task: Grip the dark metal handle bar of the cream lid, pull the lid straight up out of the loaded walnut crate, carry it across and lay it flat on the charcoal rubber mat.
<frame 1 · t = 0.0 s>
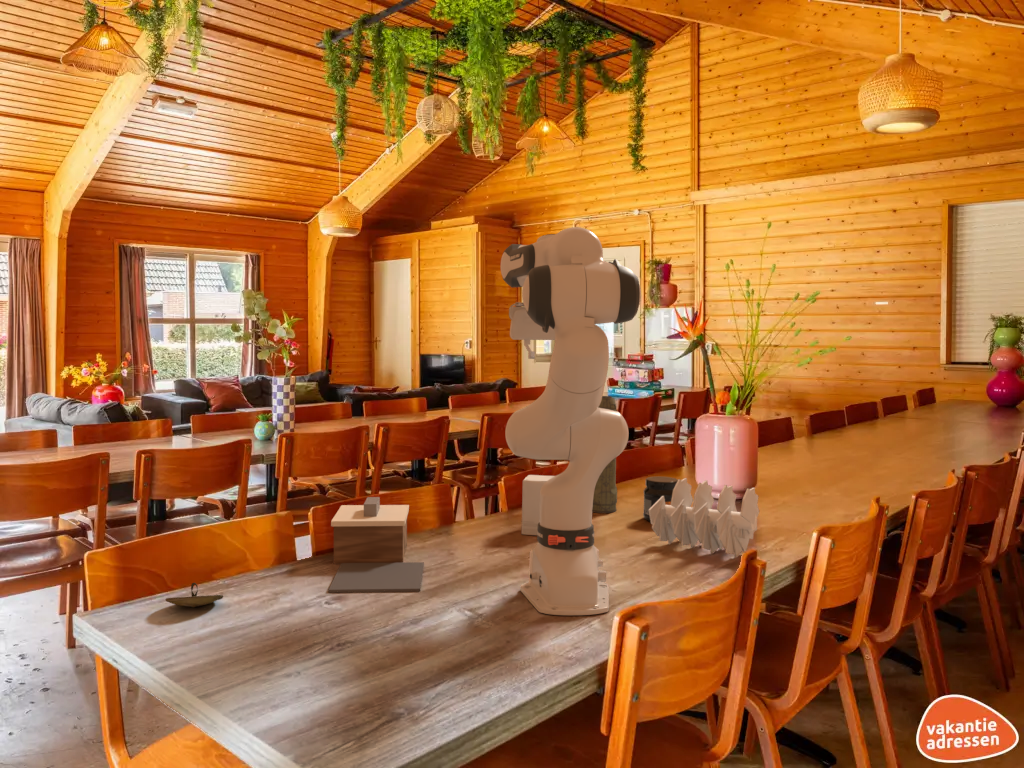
hand: (550, 358, 196), 48 cm above the table, fingers open, 8 cm apart
supplement container: (661, 520, 233), on the table
lid: (194, 609, 156), on the table
crate: (371, 553, 195), on the table
supplement box: (540, 532, 218), on the table
thermos: (602, 510, 245), on the table
lid panel: (371, 522, 194), point 8 cm above the table, touching crate
mat: (378, 577, 176), on the table
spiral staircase: (705, 550, 202), on the table
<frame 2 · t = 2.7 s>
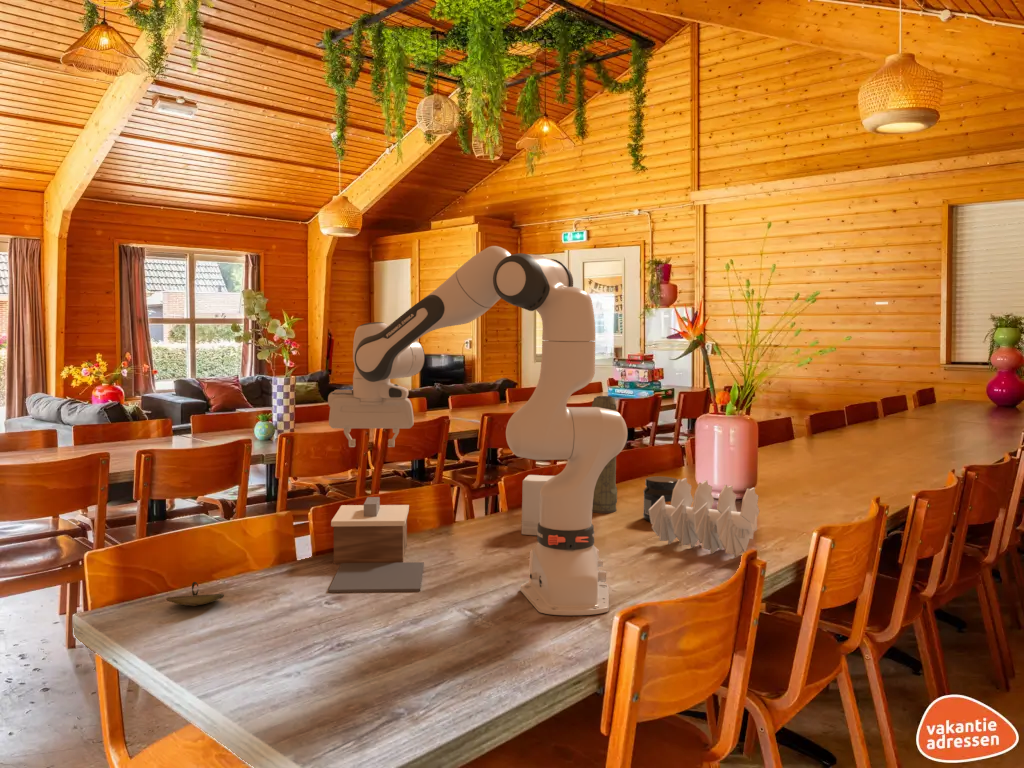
hand: (371, 446, 193), 26 cm above the table, fingers open, 8 cm apart
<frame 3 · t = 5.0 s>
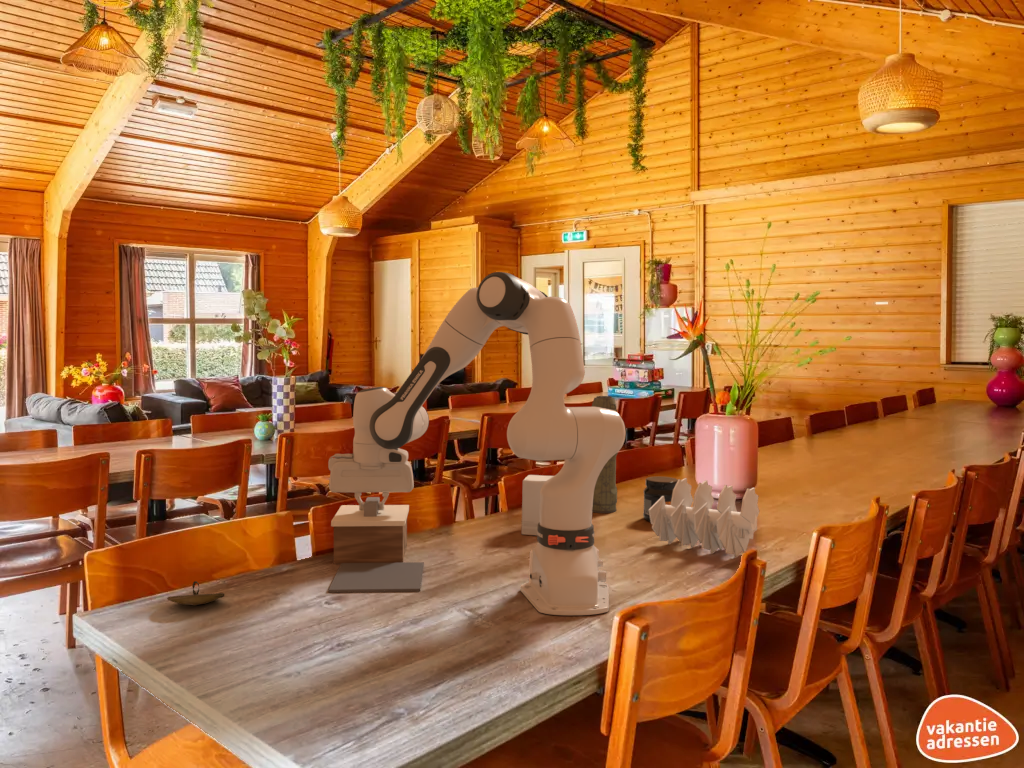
hand: (371, 509, 194), 11 cm above the table, fingers closed on lid panel, 3 cm apart
lid panel: (371, 522, 194), point 8 cm above the table, touching crate, gripper
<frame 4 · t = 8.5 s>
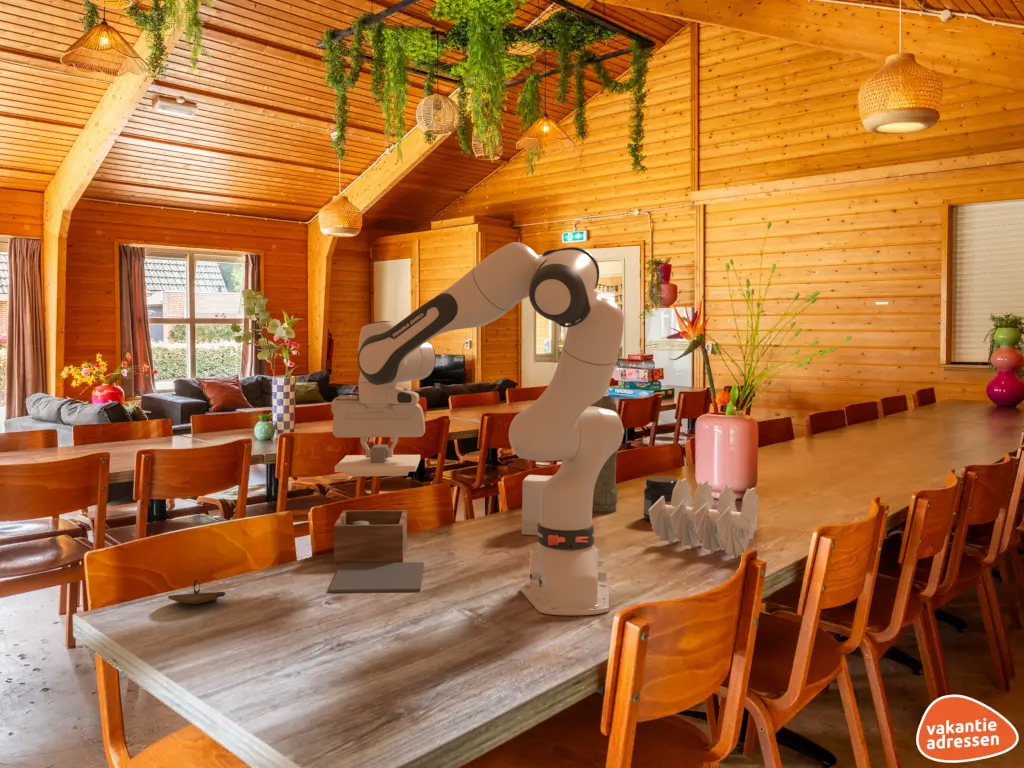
hand: (379, 457, 177), 27 cm above the table, fingers closed on lid panel, 3 cm apart
lid panel: (379, 471, 177), point 23 cm above the table, touching gripper
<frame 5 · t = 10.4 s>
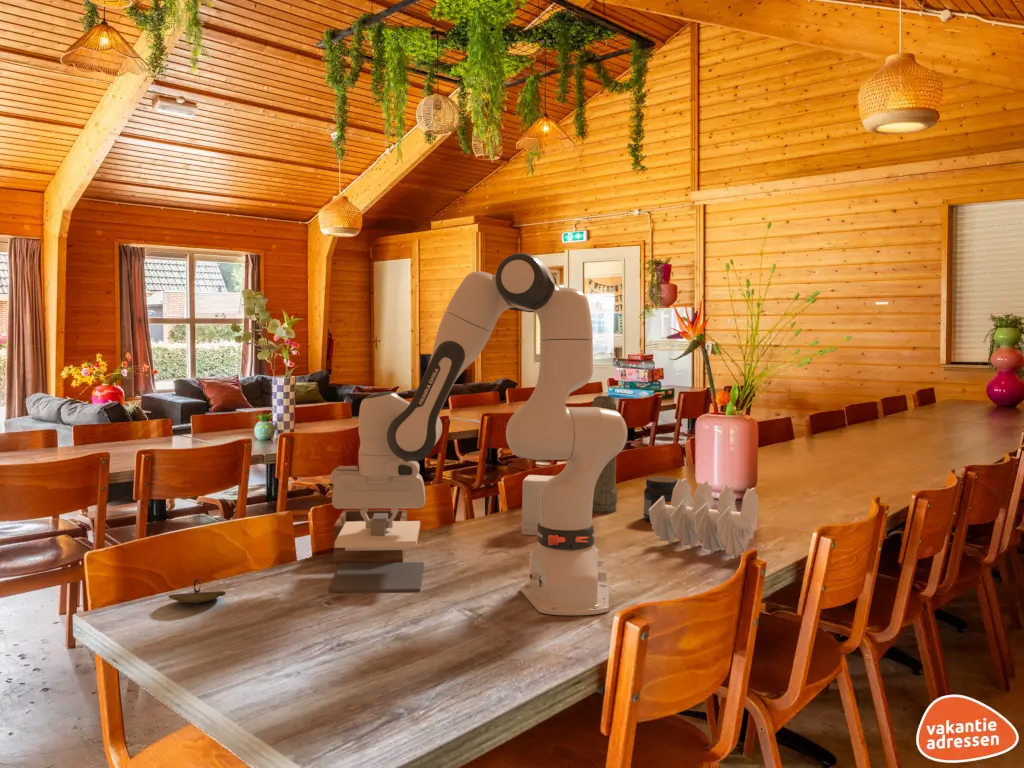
hand: (379, 527, 176), 11 cm above the table, fingers closed on lid panel, 3 cm apart
lid panel: (379, 541, 176), point 8 cm above the table, touching gripper
when the fingers open (5 cm above the table, at t = 12.1 s): lid panel drops 1 cm, resting on mat.
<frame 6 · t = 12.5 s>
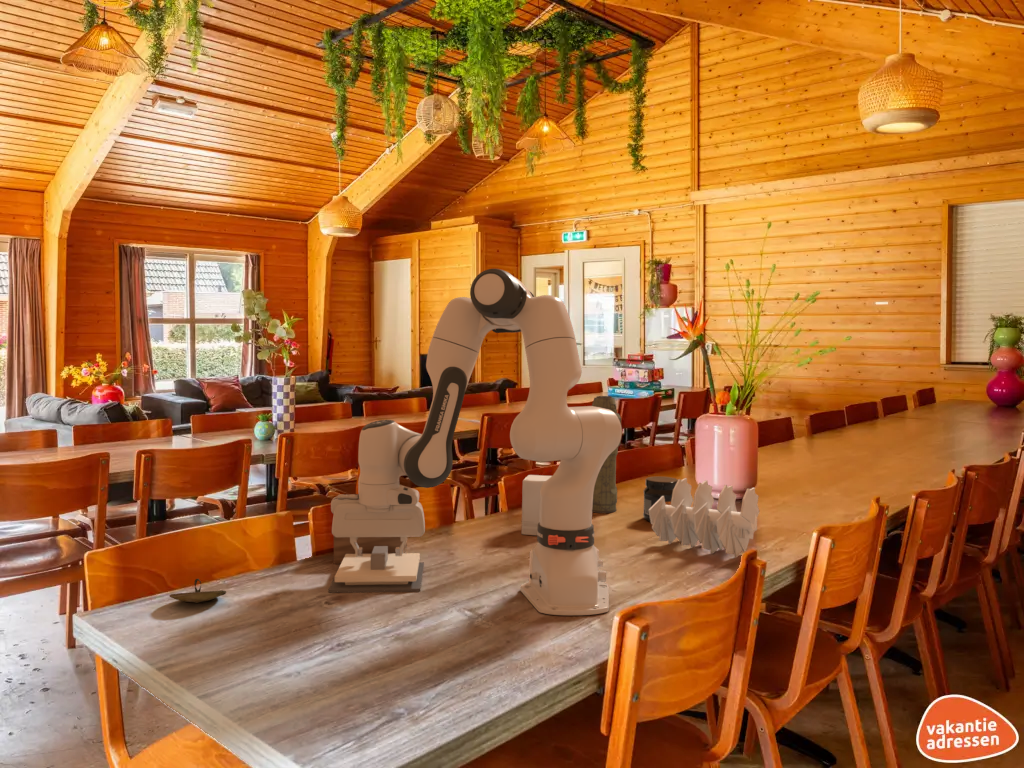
hand: (379, 556, 176), 5 cm above the table, fingers open, 7 cm apart
lid panel: (379, 575, 176), point 1 cm above the table, touching mat
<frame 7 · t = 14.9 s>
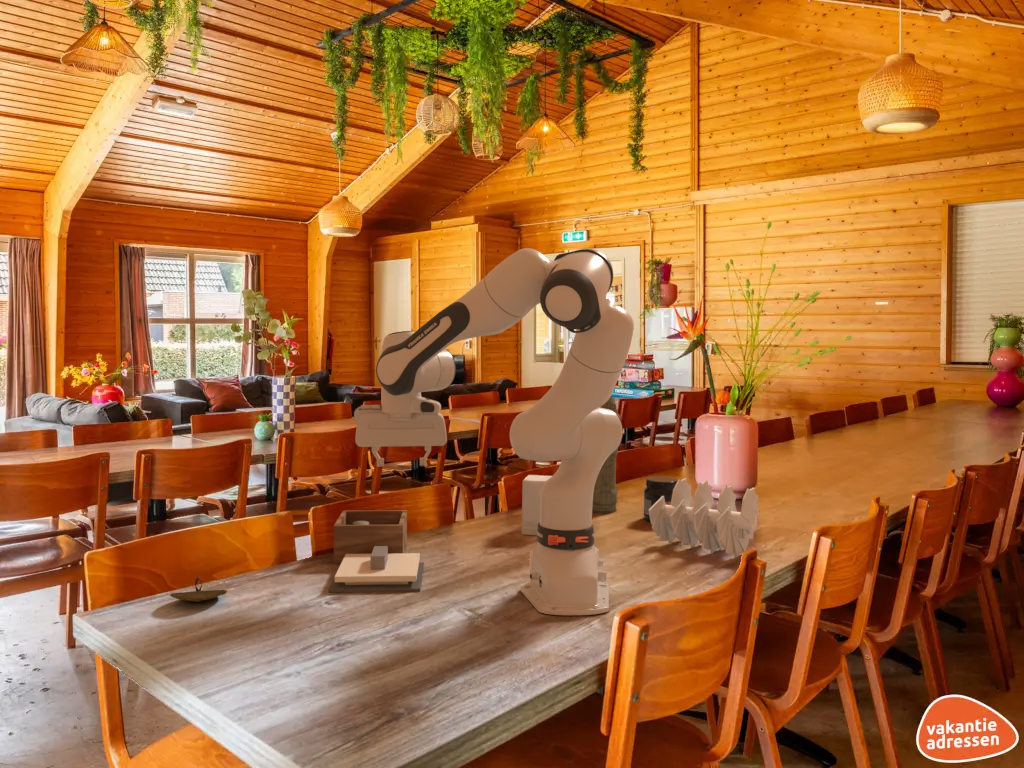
hand: (401, 466, 178), 24 cm above the table, fingers open, 8 cm apart
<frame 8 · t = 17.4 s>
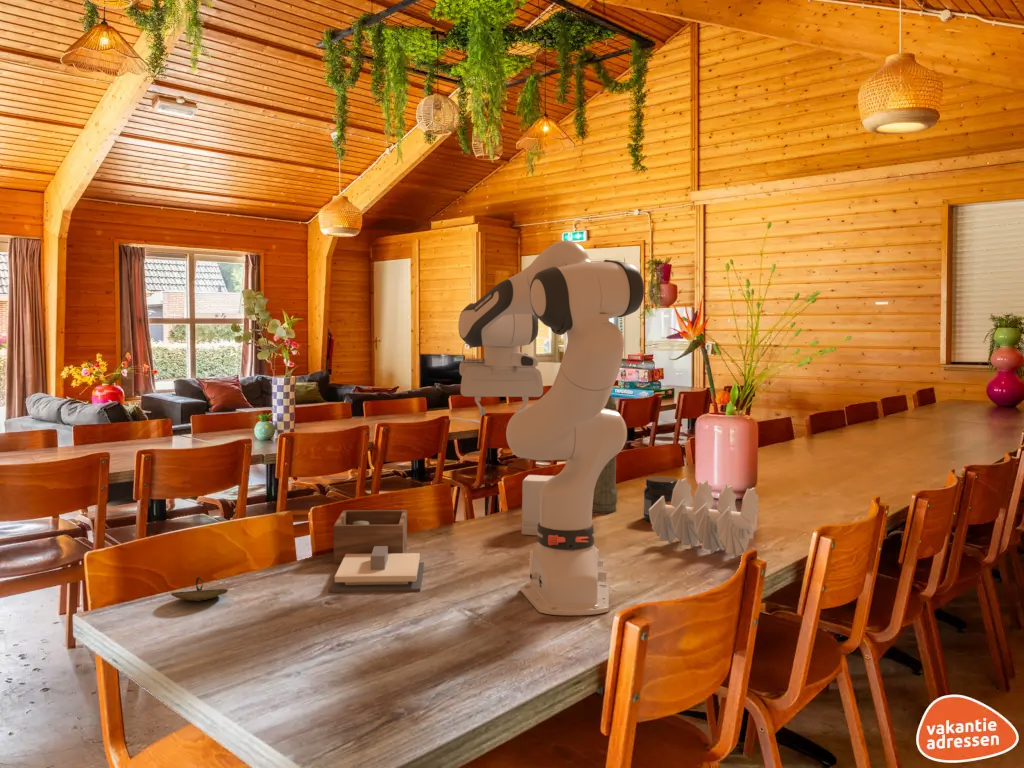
hand: (501, 415, 196), 34 cm above the table, fingers open, 8 cm apart
at the end: lid panel inside the target area on the mat (0.1 cm from its centre), point 0.6 cm above the mat's base; lid panel tilted 0°; lid panel touching mat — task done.
